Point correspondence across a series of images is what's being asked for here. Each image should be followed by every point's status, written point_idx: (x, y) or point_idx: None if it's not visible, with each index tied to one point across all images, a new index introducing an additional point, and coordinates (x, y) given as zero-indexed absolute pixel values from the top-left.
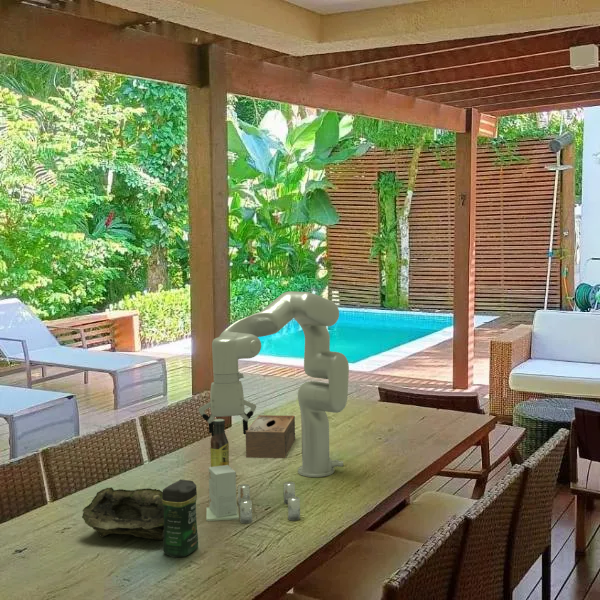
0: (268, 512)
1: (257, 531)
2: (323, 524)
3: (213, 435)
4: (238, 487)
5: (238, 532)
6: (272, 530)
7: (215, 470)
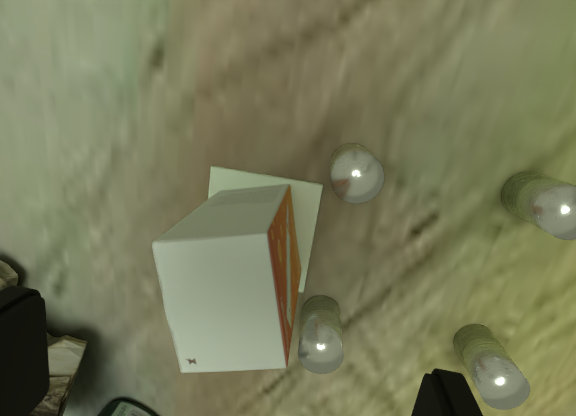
0: (412, 264)
1: (334, 391)
2: (538, 411)
3: (42, 391)
4: (331, 182)
5: (281, 379)
6: (377, 399)
7: (183, 314)
